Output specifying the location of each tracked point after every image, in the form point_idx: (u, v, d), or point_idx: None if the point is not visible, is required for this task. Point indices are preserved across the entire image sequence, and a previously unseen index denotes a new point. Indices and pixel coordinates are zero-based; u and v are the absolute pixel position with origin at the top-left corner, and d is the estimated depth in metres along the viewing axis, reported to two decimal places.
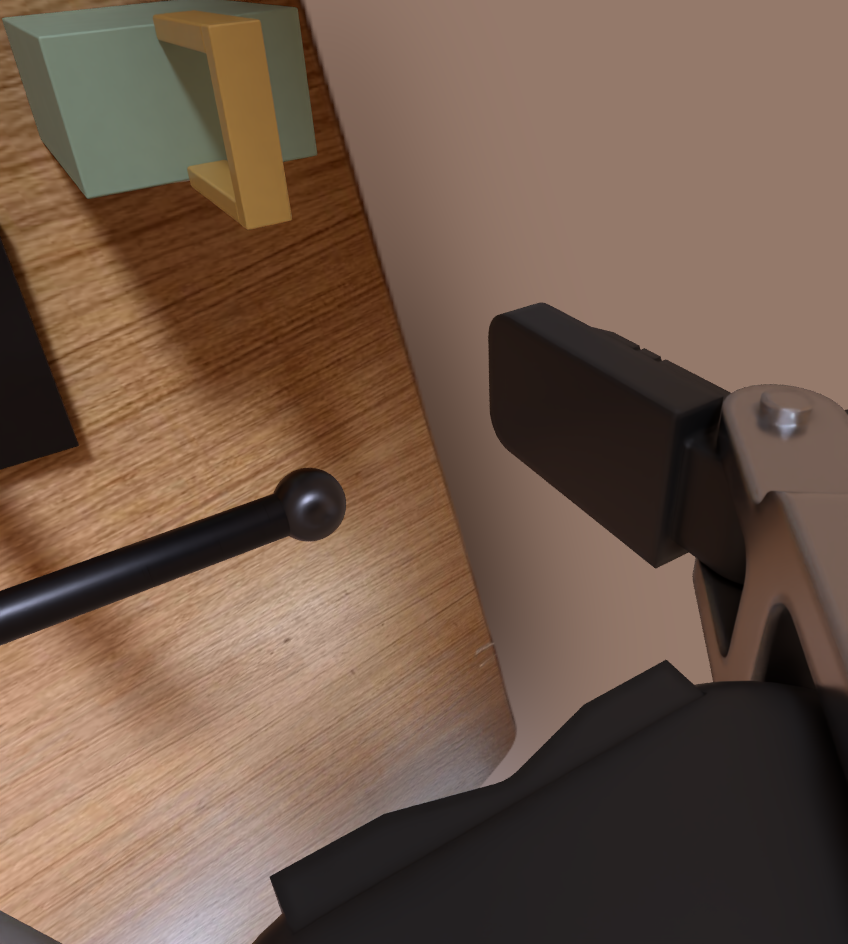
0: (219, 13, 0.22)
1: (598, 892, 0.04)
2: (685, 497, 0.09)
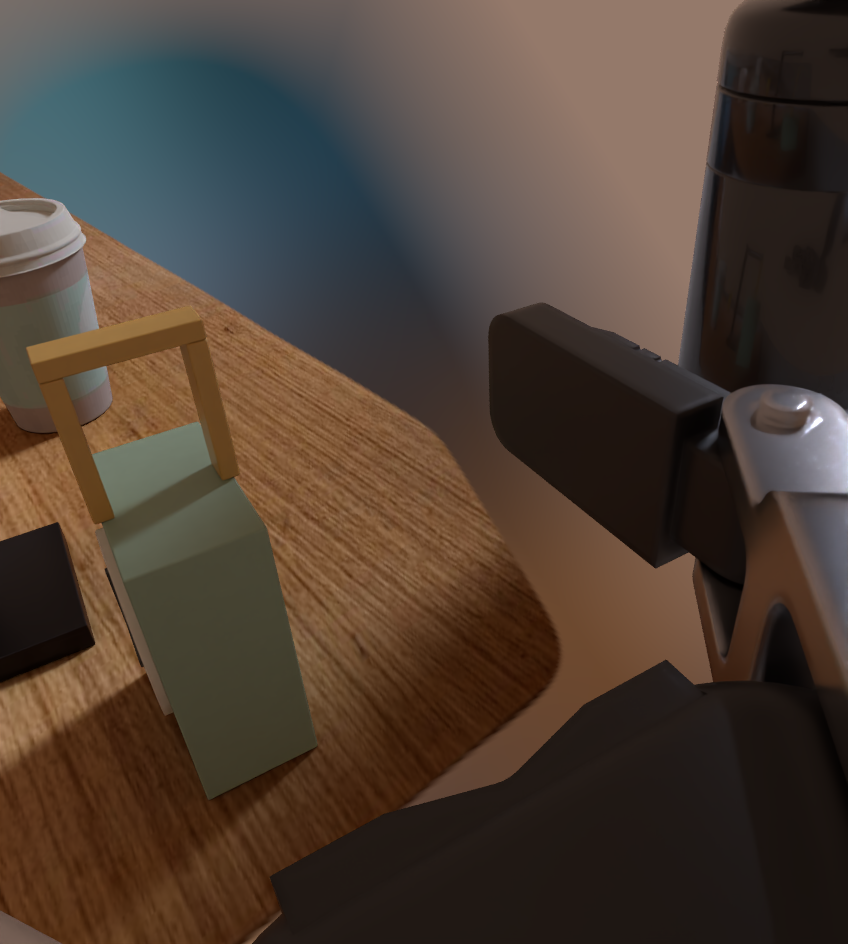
0: None
1: (598, 892, 0.04)
2: (685, 497, 0.09)
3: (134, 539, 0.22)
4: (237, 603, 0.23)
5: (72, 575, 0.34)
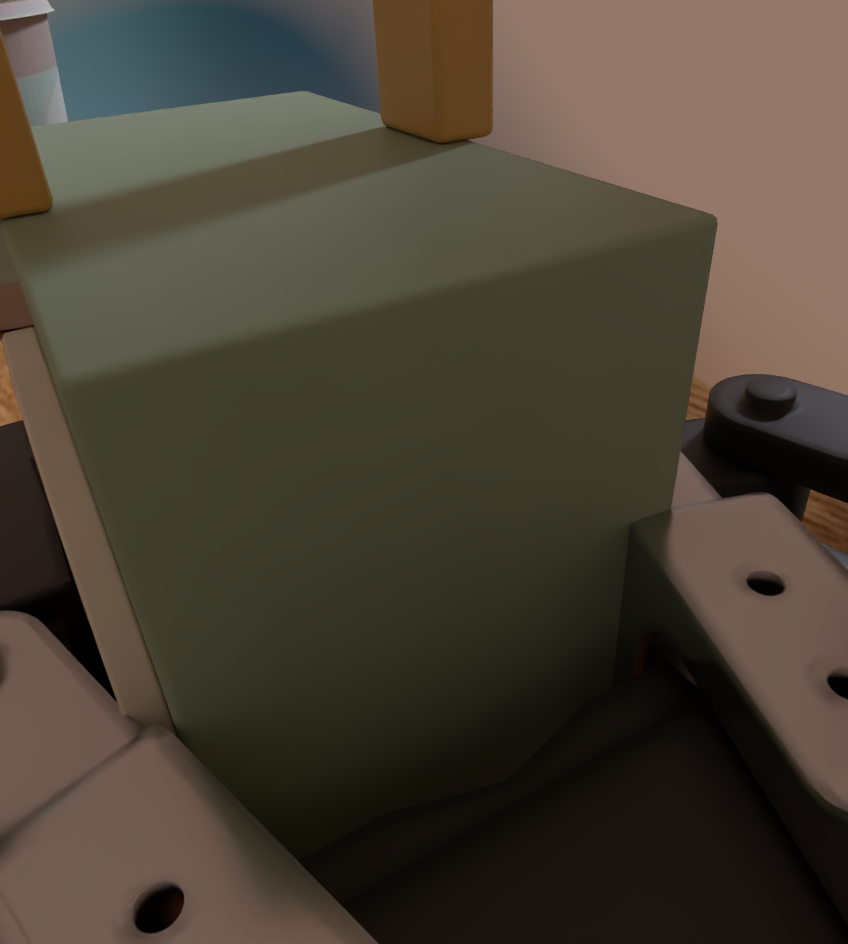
0: None
1: (598, 892, 0.04)
2: None
3: (130, 251, 0.05)
4: (538, 560, 0.06)
5: None
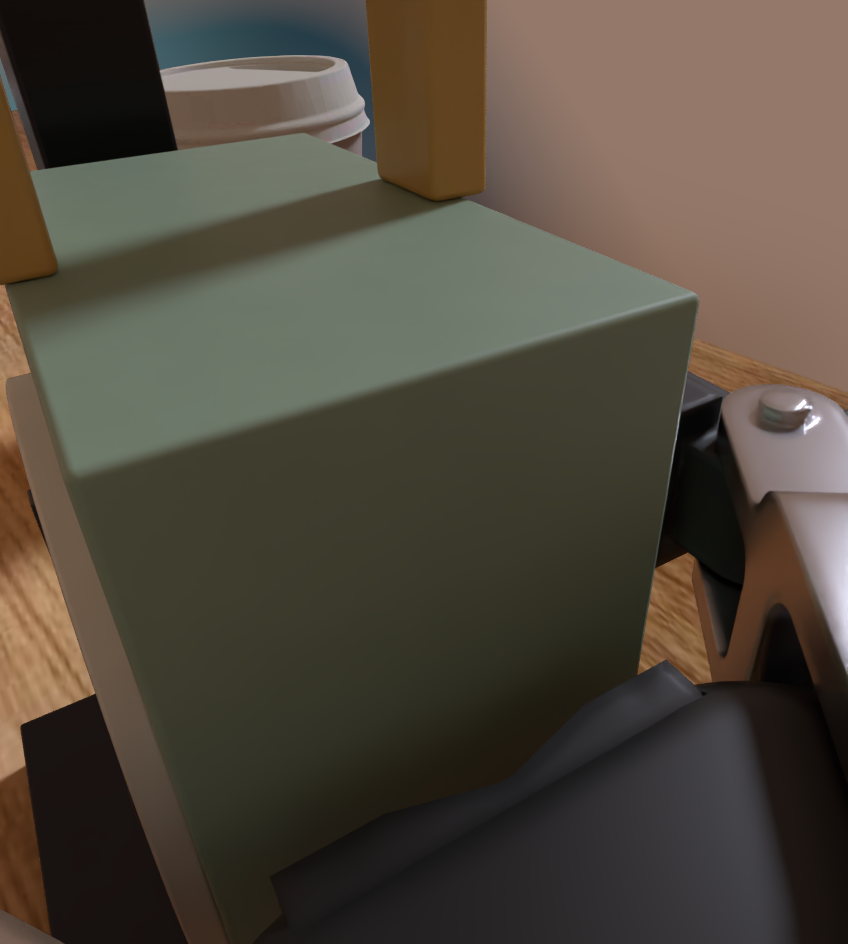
0: None
1: (598, 892, 0.04)
2: (684, 497, 0.09)
3: (135, 326, 0.05)
4: (526, 616, 0.06)
5: None
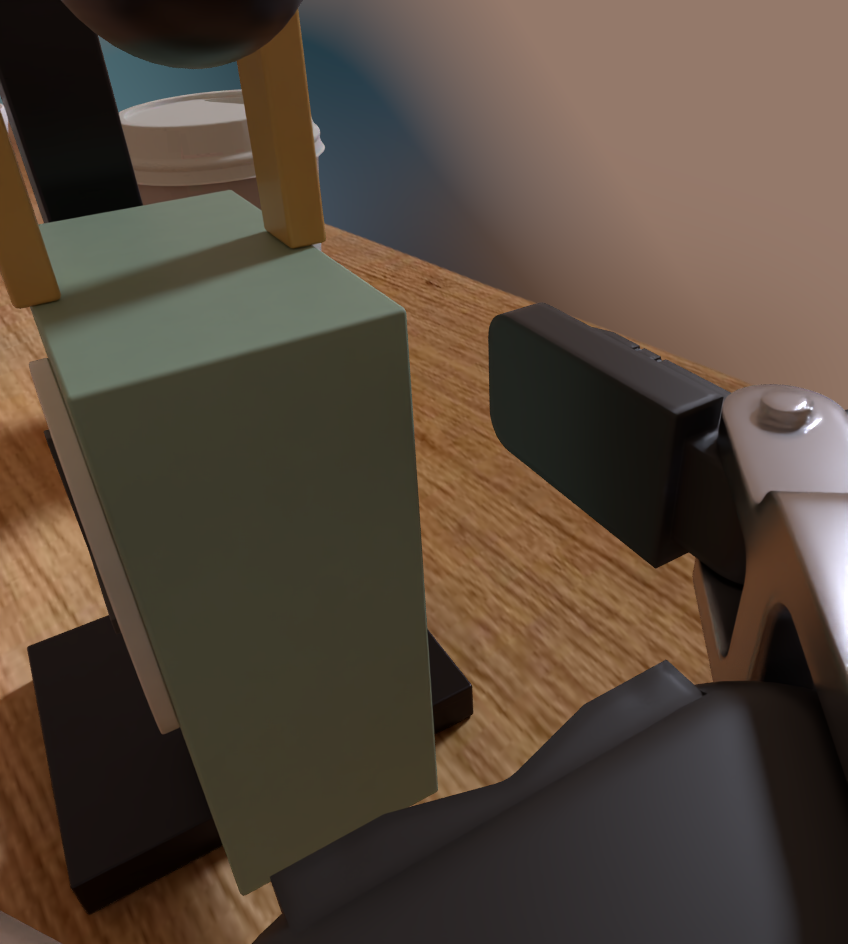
0: None
1: (598, 892, 0.04)
2: (685, 497, 0.09)
3: (102, 329, 0.09)
4: (329, 491, 0.10)
5: None
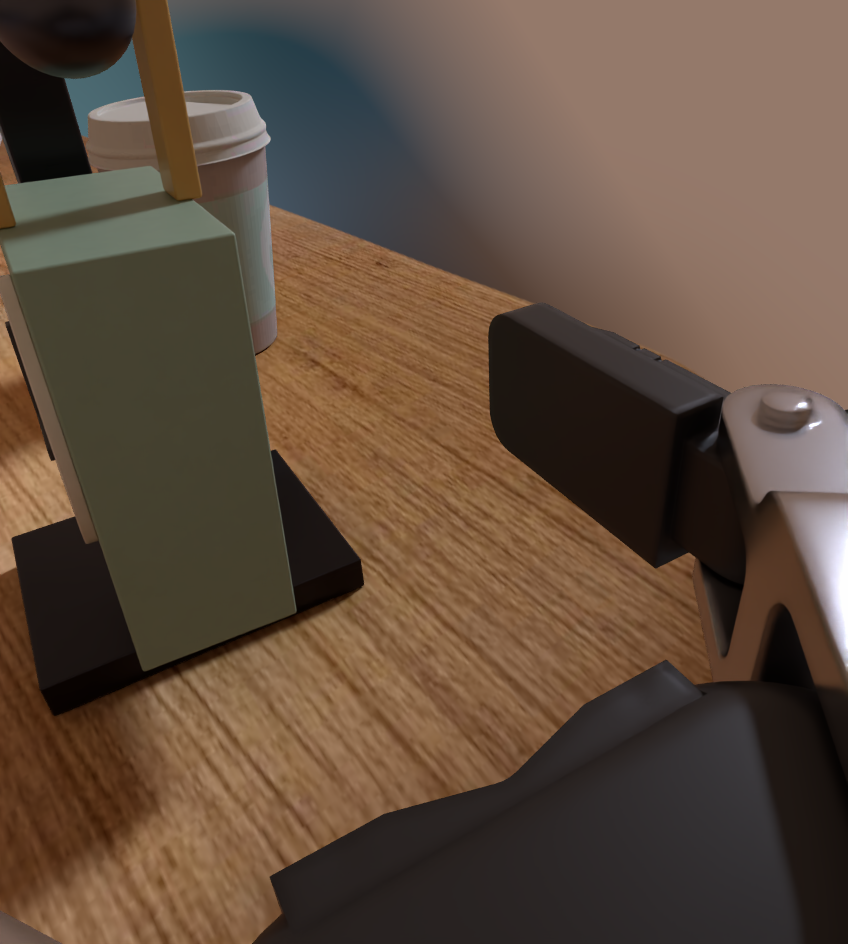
0: None
1: (598, 892, 0.04)
2: (685, 497, 0.09)
3: (40, 241, 0.15)
4: (189, 355, 0.16)
5: (318, 505, 0.28)
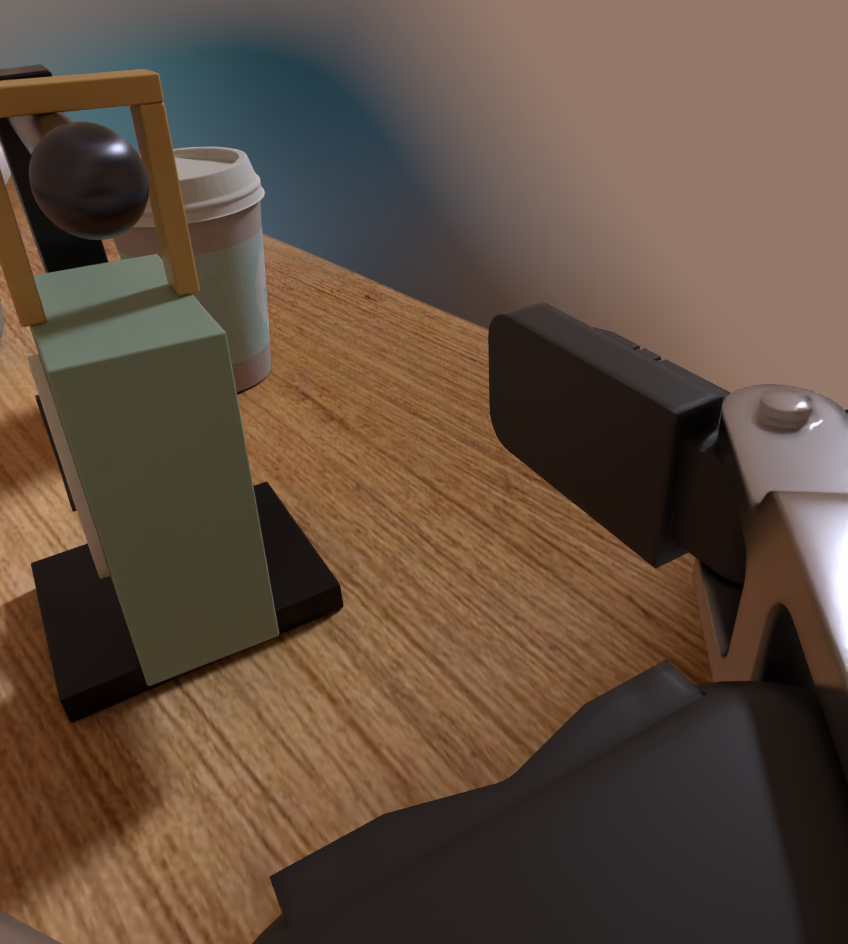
0: None
1: (598, 892, 0.04)
2: (685, 497, 0.09)
3: (67, 339, 0.18)
4: (188, 429, 0.19)
5: (303, 534, 0.32)
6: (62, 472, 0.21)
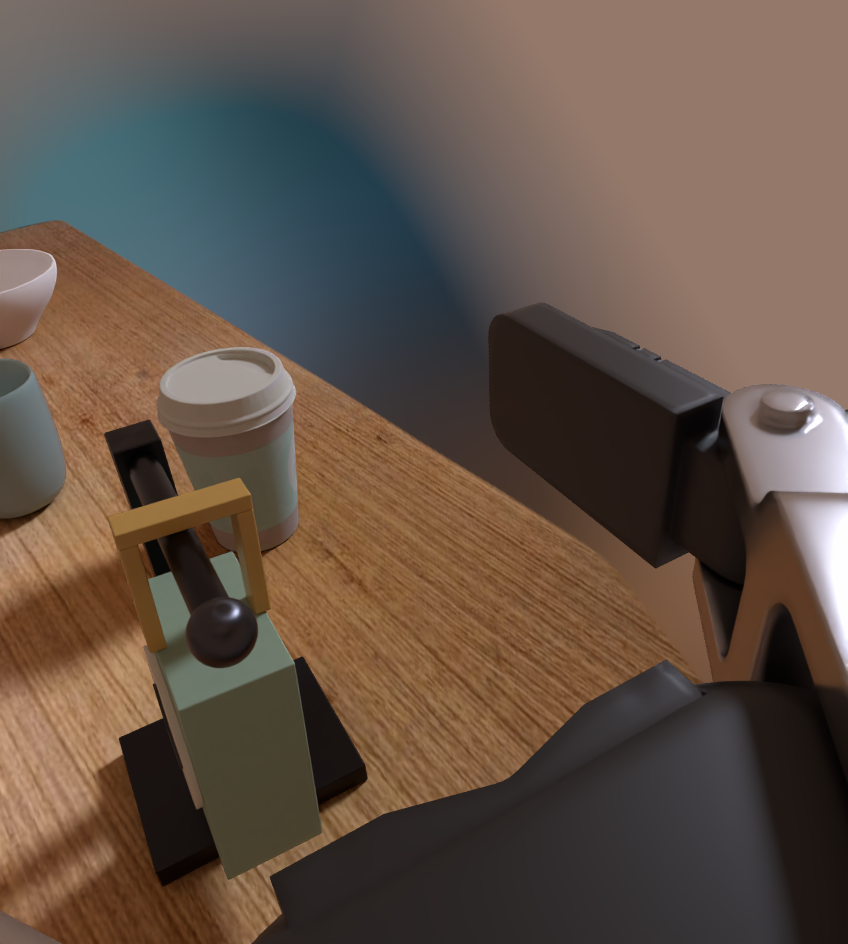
0: None
1: (598, 892, 0.04)
2: (685, 497, 0.09)
3: (185, 669, 0.26)
4: (266, 722, 0.27)
5: (334, 713, 0.40)
6: (169, 731, 0.29)
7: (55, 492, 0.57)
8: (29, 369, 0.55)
